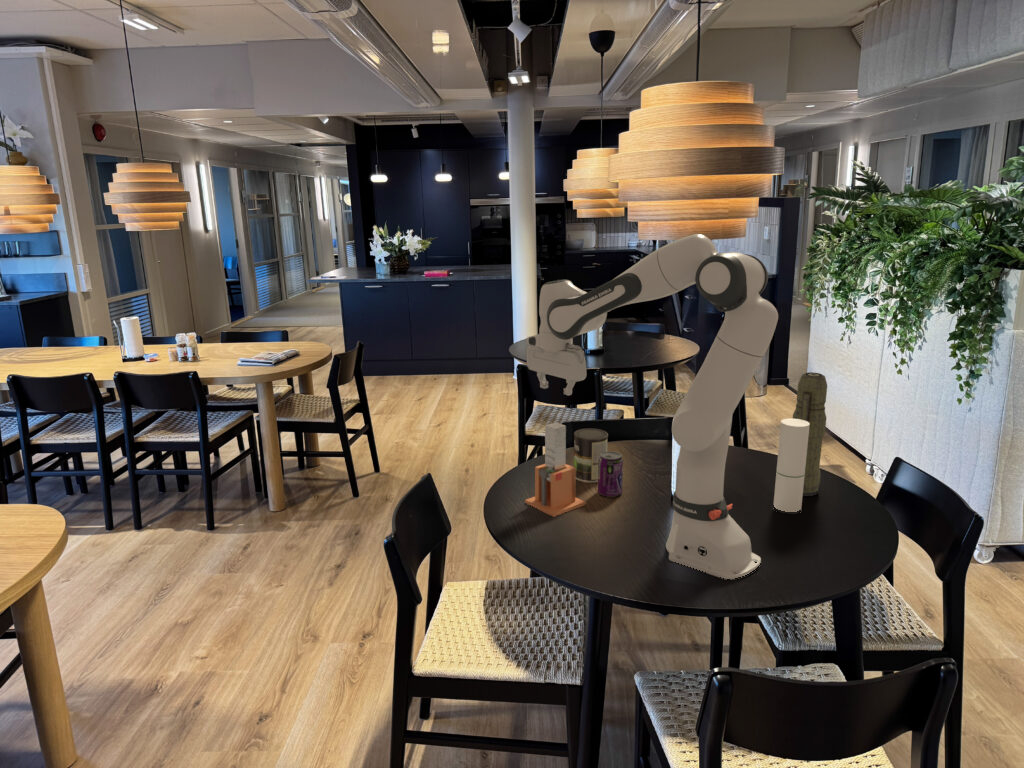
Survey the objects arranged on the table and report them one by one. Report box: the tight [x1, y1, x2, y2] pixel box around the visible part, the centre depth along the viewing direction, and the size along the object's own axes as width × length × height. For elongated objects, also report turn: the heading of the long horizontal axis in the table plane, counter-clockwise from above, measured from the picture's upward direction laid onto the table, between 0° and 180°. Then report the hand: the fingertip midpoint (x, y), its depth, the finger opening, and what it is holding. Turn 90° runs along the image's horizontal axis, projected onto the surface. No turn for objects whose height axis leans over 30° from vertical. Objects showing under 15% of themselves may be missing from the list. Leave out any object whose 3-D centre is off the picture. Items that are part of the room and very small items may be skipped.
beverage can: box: [597, 450, 624, 498], centre depth 205 cm, size 7×7×12 cm
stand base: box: [524, 463, 586, 518], centre depth 199 cm, size 12×12×11 cm
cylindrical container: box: [773, 417, 810, 512], centre depth 192 cm, size 7×7×25 cm
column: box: [544, 422, 567, 482], centre depth 196 cm, size 4×5×16 cm
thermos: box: [792, 372, 828, 493], centre depth 203 cm, size 9×12×35 cm
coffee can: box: [573, 427, 609, 484], centre depth 218 cm, size 10×10×14 cm
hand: (555, 391), depth 192 cm, fingers open, 8 cm apart
